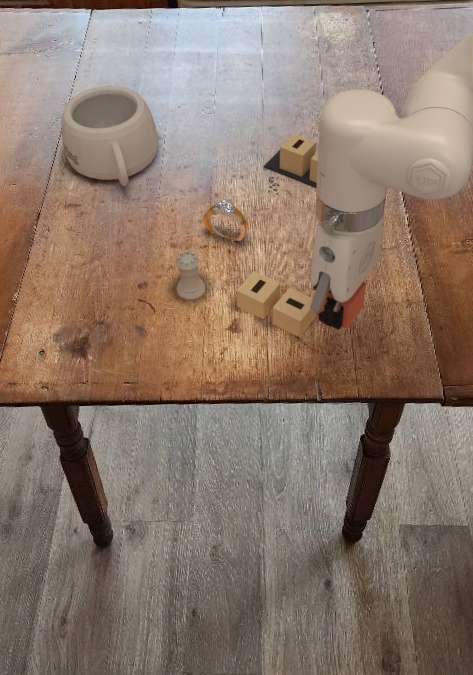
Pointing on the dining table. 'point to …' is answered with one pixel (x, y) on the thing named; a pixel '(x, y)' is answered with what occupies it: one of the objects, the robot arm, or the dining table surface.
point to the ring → (227, 210)
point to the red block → (352, 305)
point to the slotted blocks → (276, 303)
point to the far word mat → (296, 160)
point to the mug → (108, 133)
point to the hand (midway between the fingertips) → (340, 309)
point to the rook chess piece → (189, 276)
